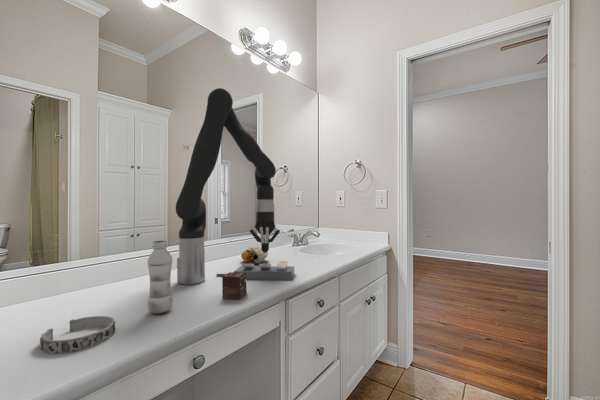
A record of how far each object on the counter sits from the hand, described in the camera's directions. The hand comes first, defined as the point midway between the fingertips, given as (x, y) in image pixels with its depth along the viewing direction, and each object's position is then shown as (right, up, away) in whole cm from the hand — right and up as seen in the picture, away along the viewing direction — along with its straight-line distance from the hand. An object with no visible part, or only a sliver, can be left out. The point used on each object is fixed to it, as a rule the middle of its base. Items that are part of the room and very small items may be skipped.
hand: (265, 252), depth 120 cm
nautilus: (-10, -10, +22) cm, 26 cm away
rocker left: (-7, -6, -2) cm, 9 cm away
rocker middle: (0, -6, -2) cm, 7 cm away
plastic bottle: (-25, -10, -38) cm, 47 cm away
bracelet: (-36, -11, -53) cm, 65 cm away
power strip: (-4, -10, -2) cm, 11 cm away
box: (-7, -10, -26) cm, 28 cm away
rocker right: (+7, -6, -3) cm, 10 cm away
